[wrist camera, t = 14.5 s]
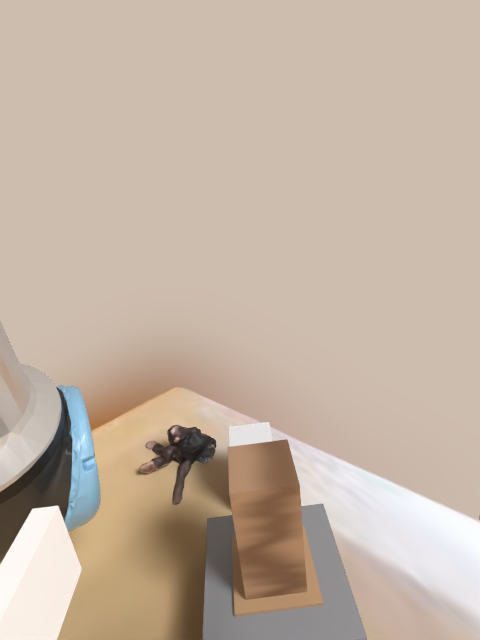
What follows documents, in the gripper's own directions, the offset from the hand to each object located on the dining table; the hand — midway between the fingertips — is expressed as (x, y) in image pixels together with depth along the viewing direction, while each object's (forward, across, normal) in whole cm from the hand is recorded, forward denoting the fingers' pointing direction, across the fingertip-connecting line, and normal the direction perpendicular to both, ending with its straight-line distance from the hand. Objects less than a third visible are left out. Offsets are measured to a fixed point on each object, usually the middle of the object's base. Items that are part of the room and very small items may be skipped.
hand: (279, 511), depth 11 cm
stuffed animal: (+35, -11, -28) cm, 46 cm away
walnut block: (+14, 0, -22) cm, 26 cm away
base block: (+14, 0, -27) cm, 30 cm away
